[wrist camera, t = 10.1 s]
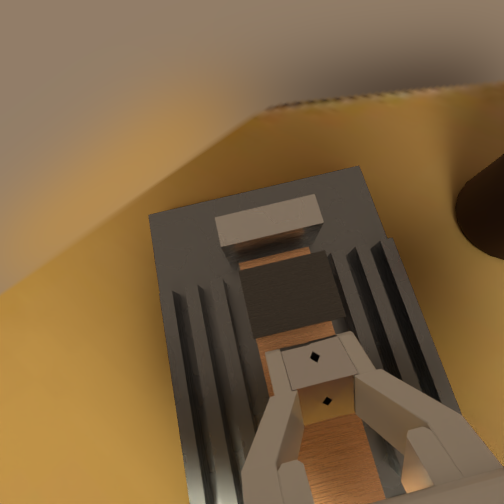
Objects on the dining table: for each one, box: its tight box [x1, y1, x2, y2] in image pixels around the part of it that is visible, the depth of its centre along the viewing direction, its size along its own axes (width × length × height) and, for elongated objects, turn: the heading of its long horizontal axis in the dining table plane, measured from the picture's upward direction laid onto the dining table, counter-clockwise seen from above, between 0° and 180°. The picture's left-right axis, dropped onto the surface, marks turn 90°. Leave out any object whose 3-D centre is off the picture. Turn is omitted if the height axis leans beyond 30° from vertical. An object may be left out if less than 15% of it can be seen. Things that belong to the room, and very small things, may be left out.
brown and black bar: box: [238, 247, 386, 504], centre depth 13 cm, size 4×4×15 cm
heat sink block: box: [148, 166, 462, 504], centre depth 16 cm, size 22×14×6 cm, turn 13°
